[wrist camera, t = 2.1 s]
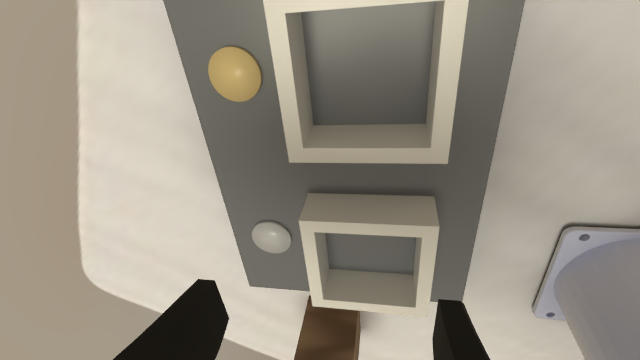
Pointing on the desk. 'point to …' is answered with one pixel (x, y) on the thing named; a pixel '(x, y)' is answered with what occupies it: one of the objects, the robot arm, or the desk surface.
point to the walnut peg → (329, 334)
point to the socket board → (351, 138)
